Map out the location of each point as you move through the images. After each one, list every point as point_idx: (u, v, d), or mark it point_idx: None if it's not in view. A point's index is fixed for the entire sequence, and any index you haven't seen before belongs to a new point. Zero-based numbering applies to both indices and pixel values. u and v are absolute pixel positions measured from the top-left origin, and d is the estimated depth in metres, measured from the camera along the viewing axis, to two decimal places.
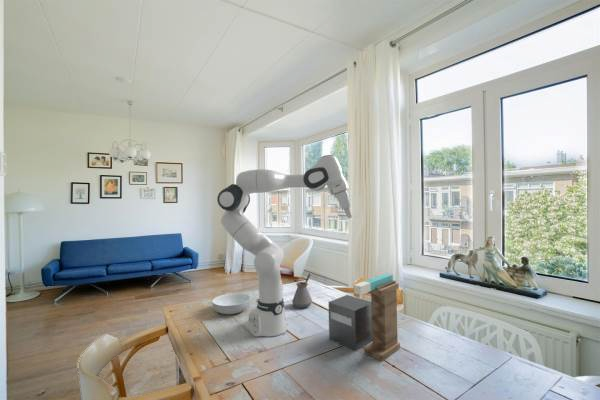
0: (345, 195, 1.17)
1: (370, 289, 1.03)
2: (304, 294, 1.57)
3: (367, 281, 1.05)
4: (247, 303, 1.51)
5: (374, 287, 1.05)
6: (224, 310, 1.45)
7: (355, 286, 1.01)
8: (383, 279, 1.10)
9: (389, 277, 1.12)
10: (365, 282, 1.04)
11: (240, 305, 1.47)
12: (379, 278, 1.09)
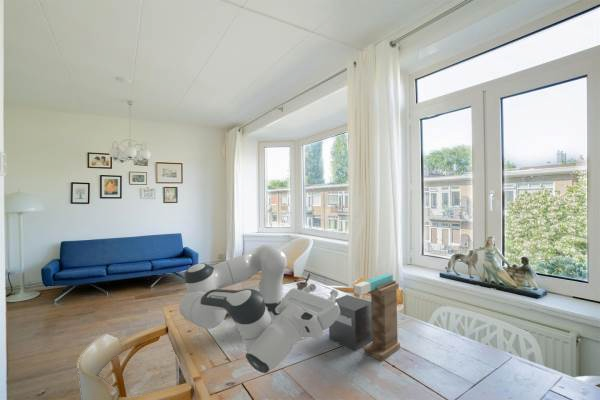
0: (326, 316, 0.76)
1: (370, 289, 1.03)
2: None
3: (367, 281, 1.05)
4: None
5: (374, 287, 1.05)
6: None
7: (355, 286, 1.01)
8: (383, 279, 1.10)
9: (389, 277, 1.12)
10: (365, 282, 1.04)
11: None
12: (379, 278, 1.09)
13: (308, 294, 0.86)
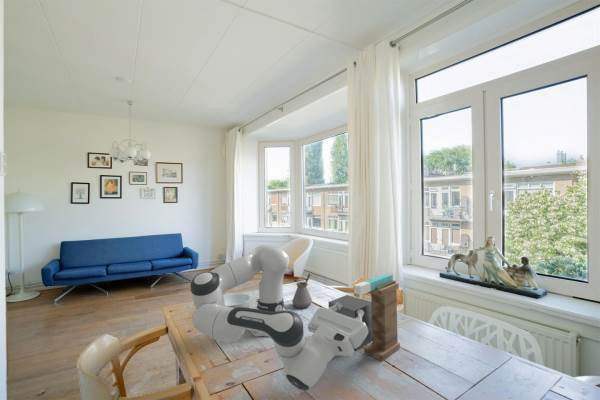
0: (357, 336, 0.83)
1: (370, 289, 1.03)
2: (304, 294, 1.57)
3: (367, 281, 1.05)
4: (247, 303, 1.51)
5: (374, 287, 1.05)
6: None
7: (355, 286, 1.01)
8: (383, 279, 1.10)
9: (389, 277, 1.12)
10: (365, 282, 1.04)
11: (240, 305, 1.47)
12: (379, 278, 1.09)
13: (336, 314, 0.94)
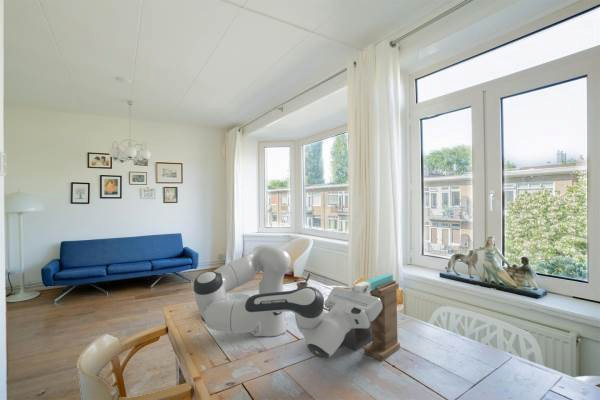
0: (372, 310, 0.90)
1: None
2: None
3: (367, 281, 1.06)
4: None
5: (374, 287, 1.05)
6: None
7: (355, 286, 1.01)
8: (383, 279, 1.09)
9: (389, 277, 1.12)
10: (365, 282, 1.04)
11: None
12: (379, 278, 1.09)
13: (351, 291, 1.01)
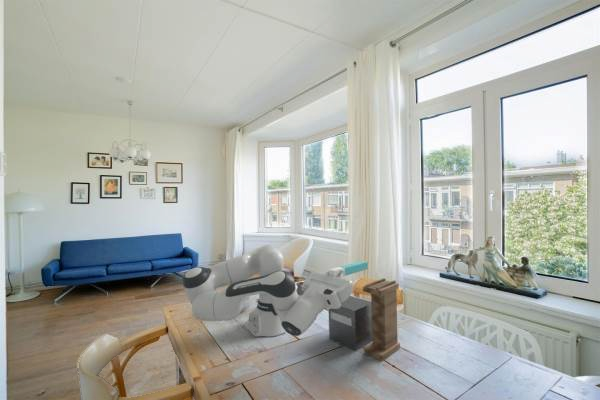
0: (343, 291, 0.96)
1: None
2: None
3: (342, 267, 1.11)
4: (247, 303, 1.51)
5: (348, 272, 1.11)
6: None
7: (330, 271, 1.07)
8: (358, 265, 1.15)
9: (364, 264, 1.18)
10: (340, 267, 1.10)
11: None
12: (354, 264, 1.15)
13: (326, 275, 1.06)
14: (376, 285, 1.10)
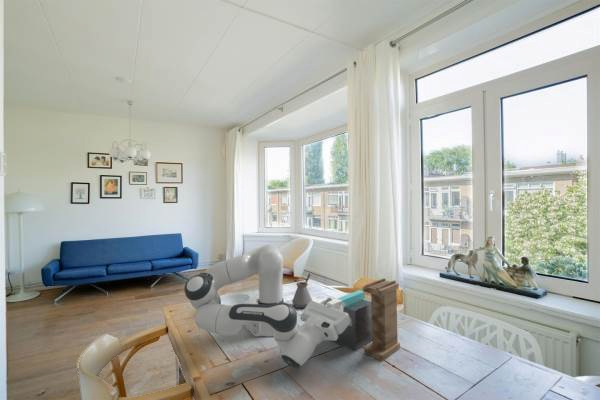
0: (340, 324, 1.01)
1: None
2: (304, 294, 1.57)
3: (340, 298, 1.16)
4: (247, 303, 1.51)
5: (346, 304, 1.16)
6: None
7: (328, 303, 1.12)
8: (355, 296, 1.20)
9: (361, 294, 1.23)
10: (337, 299, 1.15)
11: None
12: (351, 295, 1.20)
13: (324, 306, 1.11)
14: (376, 285, 1.10)
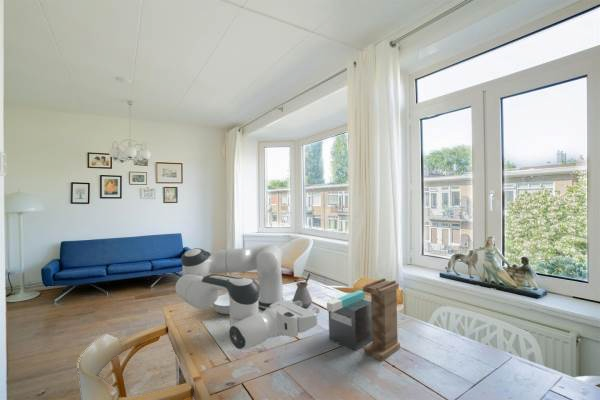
0: (304, 320, 0.89)
1: (342, 306, 1.14)
2: (304, 294, 1.57)
3: (340, 298, 1.16)
4: None
5: (346, 304, 1.16)
6: (224, 310, 1.45)
7: (328, 303, 1.12)
8: (355, 296, 1.20)
9: (361, 294, 1.23)
10: (337, 299, 1.15)
11: None
12: (351, 295, 1.20)
13: (294, 305, 1.00)
14: (376, 285, 1.10)
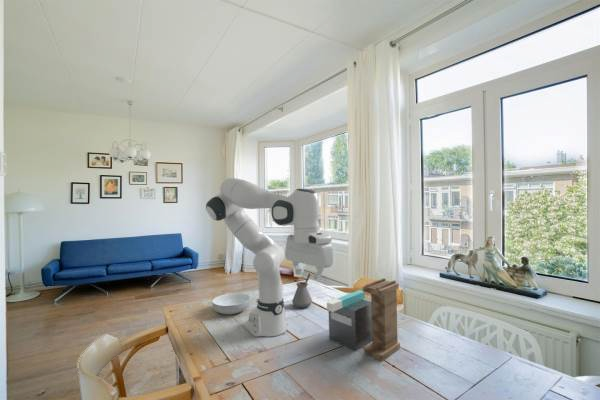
0: (330, 249, 0.89)
1: (342, 306, 1.14)
2: (304, 294, 1.57)
3: (340, 298, 1.16)
4: (247, 303, 1.51)
5: (346, 304, 1.16)
6: (224, 310, 1.45)
7: (328, 303, 1.12)
8: (355, 296, 1.20)
9: (361, 294, 1.23)
10: (337, 299, 1.15)
11: (240, 305, 1.47)
12: (351, 295, 1.20)
13: None
14: (376, 285, 1.10)
